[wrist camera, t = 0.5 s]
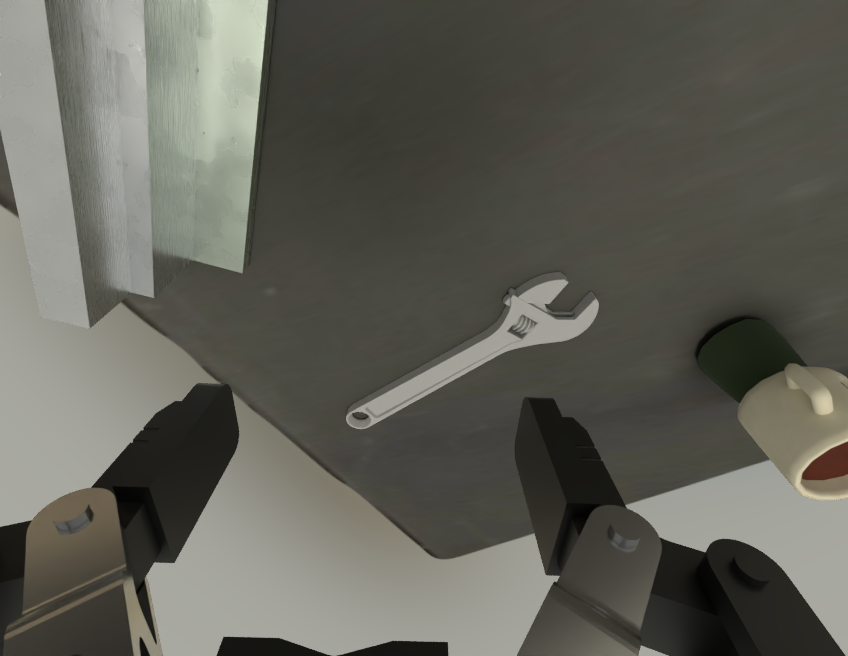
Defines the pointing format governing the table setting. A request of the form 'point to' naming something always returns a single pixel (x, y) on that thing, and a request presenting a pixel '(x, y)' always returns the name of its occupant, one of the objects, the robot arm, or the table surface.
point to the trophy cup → (785, 405)
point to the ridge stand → (131, 141)
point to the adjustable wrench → (485, 345)
